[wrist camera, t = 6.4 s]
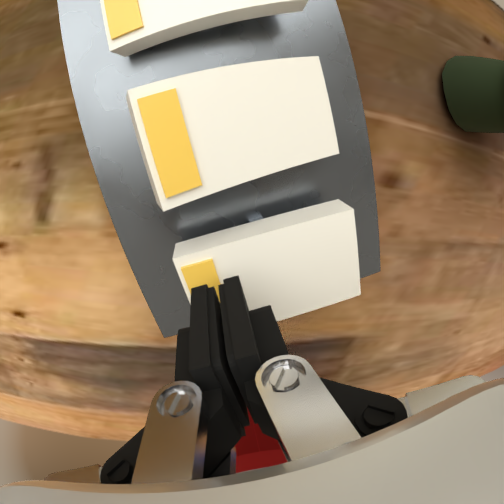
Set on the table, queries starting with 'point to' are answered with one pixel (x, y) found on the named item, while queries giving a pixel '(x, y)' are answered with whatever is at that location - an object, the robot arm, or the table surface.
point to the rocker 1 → (178, 18)
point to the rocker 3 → (280, 259)
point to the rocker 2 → (231, 125)
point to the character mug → (475, 93)
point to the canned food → (257, 450)
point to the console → (234, 198)
